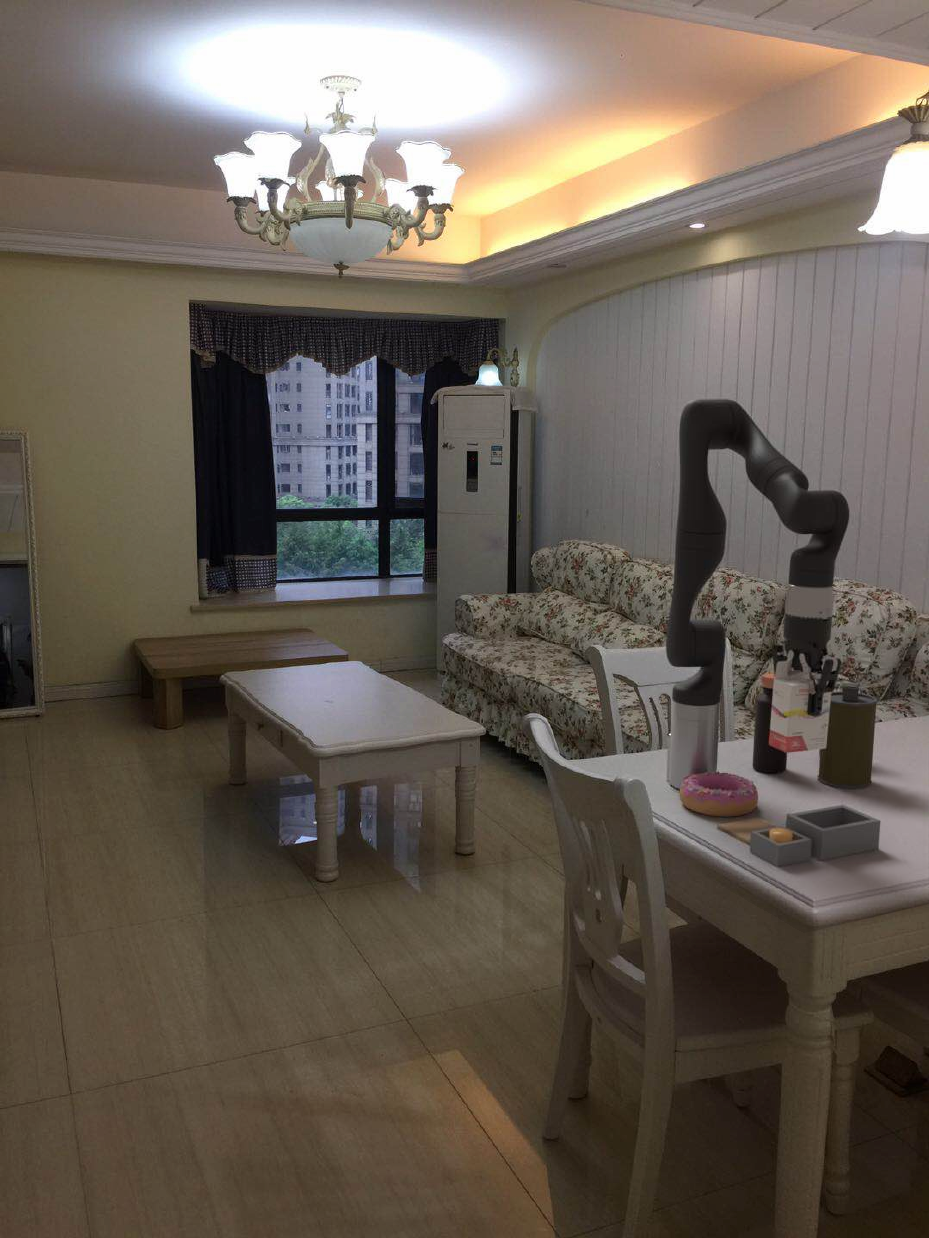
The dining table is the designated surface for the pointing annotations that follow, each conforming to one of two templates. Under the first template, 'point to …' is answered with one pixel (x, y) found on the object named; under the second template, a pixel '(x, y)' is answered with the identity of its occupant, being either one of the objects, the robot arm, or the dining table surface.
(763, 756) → the black water bottle
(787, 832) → the egg
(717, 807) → the donut
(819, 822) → the gray open bin
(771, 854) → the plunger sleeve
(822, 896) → the dining table surface
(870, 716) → the canister
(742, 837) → the walnut pad
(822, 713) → the ink cartridge box
